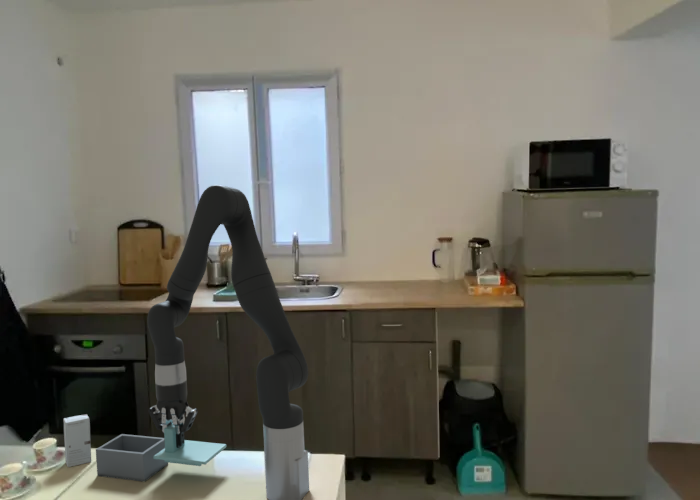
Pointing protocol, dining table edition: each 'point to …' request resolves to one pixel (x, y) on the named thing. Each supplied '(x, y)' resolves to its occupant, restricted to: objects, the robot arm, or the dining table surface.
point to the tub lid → (187, 450)
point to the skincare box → (77, 440)
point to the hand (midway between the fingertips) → (174, 445)
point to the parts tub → (130, 457)
